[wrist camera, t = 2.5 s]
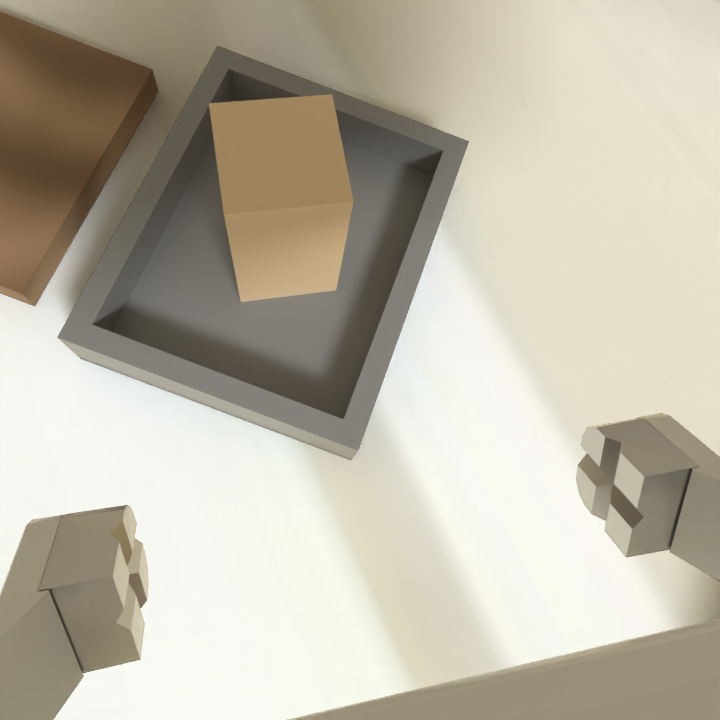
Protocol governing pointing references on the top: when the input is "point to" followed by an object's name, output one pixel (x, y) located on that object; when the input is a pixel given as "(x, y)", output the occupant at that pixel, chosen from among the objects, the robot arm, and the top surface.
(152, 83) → the walnut pad
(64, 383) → the top surface
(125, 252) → the tray
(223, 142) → the carton
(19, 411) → the top surface
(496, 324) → the top surface
